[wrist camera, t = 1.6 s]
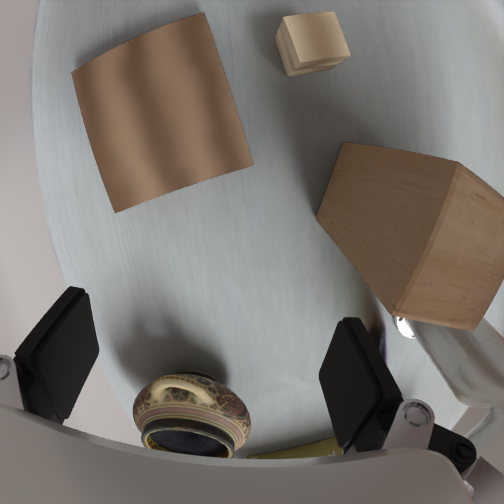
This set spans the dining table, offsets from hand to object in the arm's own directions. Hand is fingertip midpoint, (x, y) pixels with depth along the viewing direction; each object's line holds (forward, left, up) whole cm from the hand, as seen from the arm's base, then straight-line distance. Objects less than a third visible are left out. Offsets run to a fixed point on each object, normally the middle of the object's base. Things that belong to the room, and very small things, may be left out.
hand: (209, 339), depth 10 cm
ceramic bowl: (+15, +28, -25) cm, 40 cm away
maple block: (-13, -14, -24) cm, 31 cm away
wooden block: (-16, +4, -25) cm, 29 cm away
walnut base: (+4, -12, -24) cm, 27 cm away
